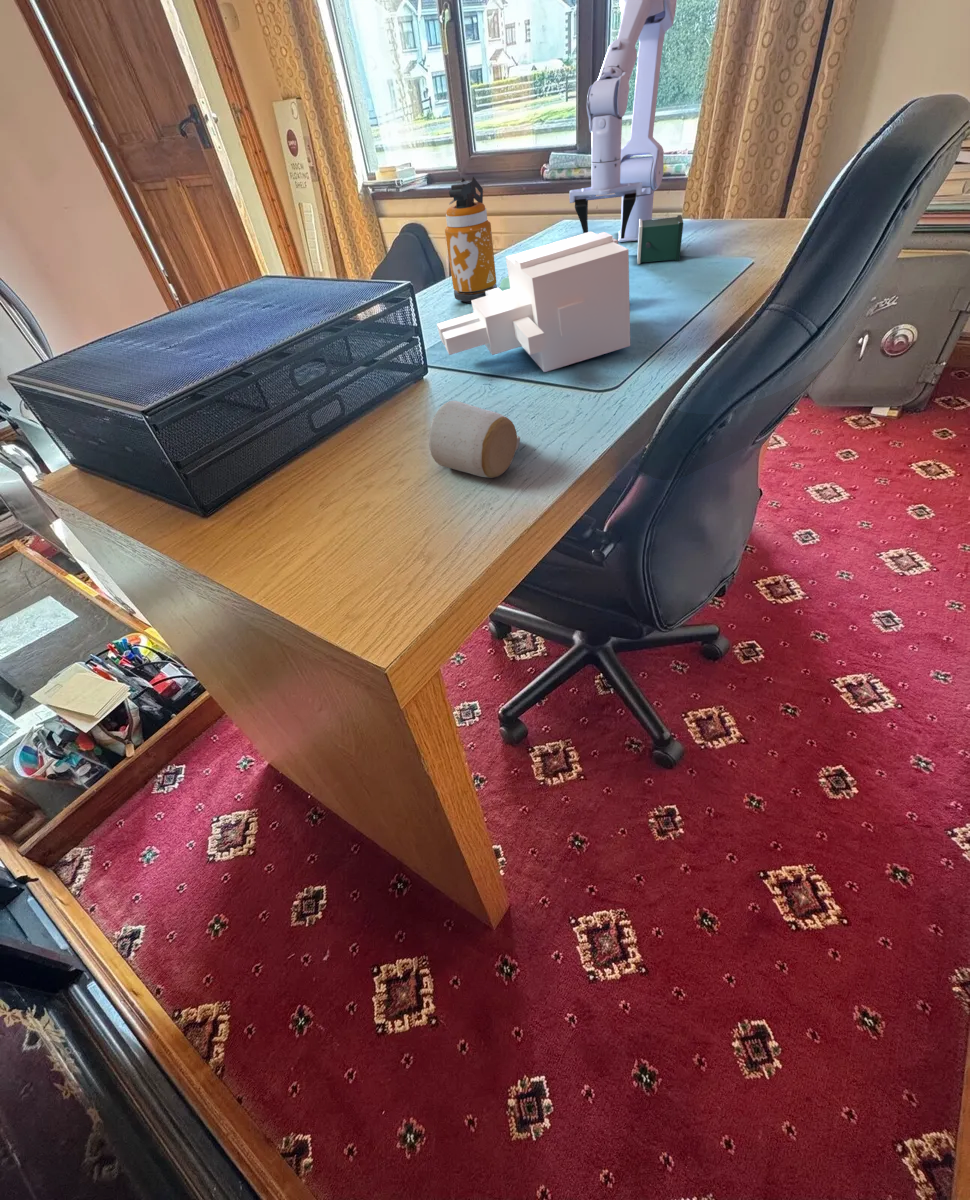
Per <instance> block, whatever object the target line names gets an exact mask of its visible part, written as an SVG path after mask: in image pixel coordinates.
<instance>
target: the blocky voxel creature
mask: <svg viewBox="0 0 970 1200" xmlns="http://www.w3.org/2000/svg"><path fill="white" fill-rule="evenodd" d="M629 251H630V250H629V248H628V247H625V246H623V245H621V244H619V242H618V239H616V238H614V235H612V234H610V233H608V232H605V231H602V232H598V233H595V232H594V231H588V232H587V233H583V232H582V233H580V234H576V235H573V236H570V237H567V238H563V239H560V240H556V241H553V242H550V243H547V244H543V245H540V246H537V247H533V248H530V249H527V250H523V251H520V252H517V253H513V254H510V255H506V256H505V262H506V270H507V276H509V282H510V289H507V290H504V291H502V290H500V287H497V288H494V289H491V290H488V291H485V293H486V296H484V297H481V298H477V299H474V300H471V302H472V303H471V306H472V311H473V312H471V313H470V312H469V313H467V314H464V315H460V316H457V317H454V318H450V319H448V320H444V321H441V322H437V323H436V327H437V331H438V335H439V338H440V341H441V342H442V344H443V346H444V347H445V350H446V352H447V353H448V355H449V356H450V355H451V356H452V355H454V354H458V353H462V352H464V351H467V350H472V349H474V348H478V347H481V346H485V347H486V349H487V351H488V352H490V354H491V356H494V355H498V354H502V353H505V352H507V351H511V350H514V349H518V348H520V347H521V348H522V349H524V351H525V352H526V353H527V354H528V356H529V357H530V358H531V359H532V360H533V361H534V362H535V364H536V365H537V366H538V367H539V368H540V369H541V371H543V373H546V372H551V371H553V370H557V369H560V368H563V367H566V366H569V365H573V364H576V363H579V362H583V361H586V360H589V359H593V358H596V357H599V356H602V355H604V354H608V353H611V352H615V351H618V350H619V351H620V350H622V349H624V348H629V347H631V312H630V311H631V309H630V308H631V307H630V306H631V304H630V302H631V301H630V254H629V253H630V252H629Z"/></svg>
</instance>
